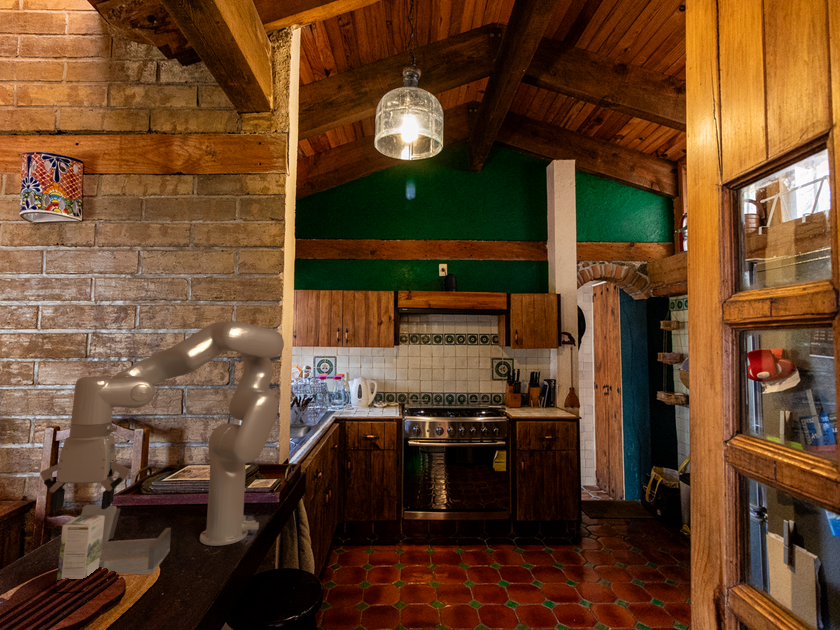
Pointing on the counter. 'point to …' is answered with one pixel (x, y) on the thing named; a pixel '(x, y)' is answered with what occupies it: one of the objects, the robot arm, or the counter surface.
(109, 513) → the electrical switch
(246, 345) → the robot arm
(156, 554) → the grey u-shaped piece
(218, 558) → the counter surface
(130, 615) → the counter surface
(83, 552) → the syrup box
